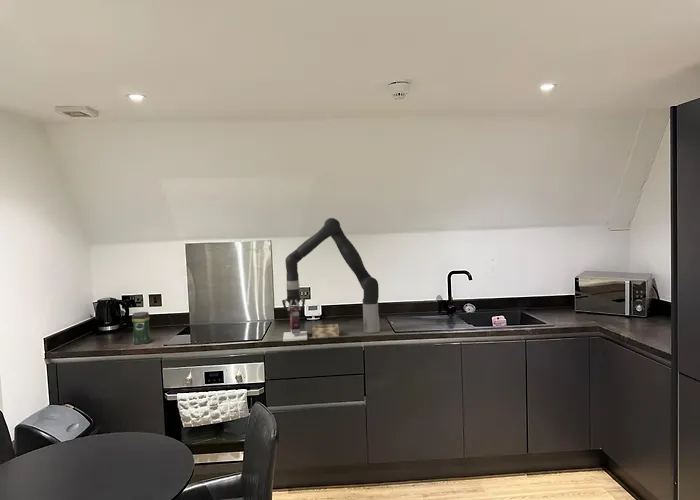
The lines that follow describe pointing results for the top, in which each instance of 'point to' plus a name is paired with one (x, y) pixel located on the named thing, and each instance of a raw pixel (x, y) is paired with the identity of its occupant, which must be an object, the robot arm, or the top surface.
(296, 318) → the supplement box
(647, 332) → the top surface
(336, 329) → the birch caddy
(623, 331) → the top surface
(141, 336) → the coffee jar
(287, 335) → the white flat slab
